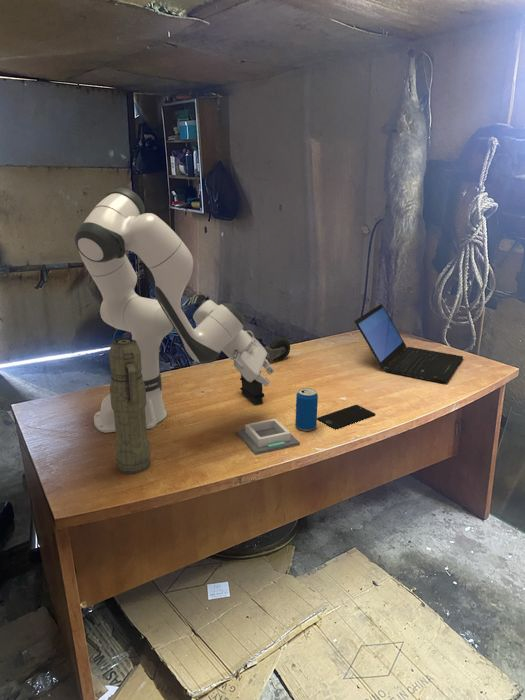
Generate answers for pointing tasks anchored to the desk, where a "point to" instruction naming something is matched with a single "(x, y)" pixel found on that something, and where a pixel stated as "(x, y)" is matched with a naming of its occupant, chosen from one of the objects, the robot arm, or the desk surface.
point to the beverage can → (306, 409)
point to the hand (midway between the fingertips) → (270, 378)
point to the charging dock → (267, 436)
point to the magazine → (252, 390)
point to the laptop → (390, 345)
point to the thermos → (129, 406)
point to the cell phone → (345, 416)
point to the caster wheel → (277, 349)
